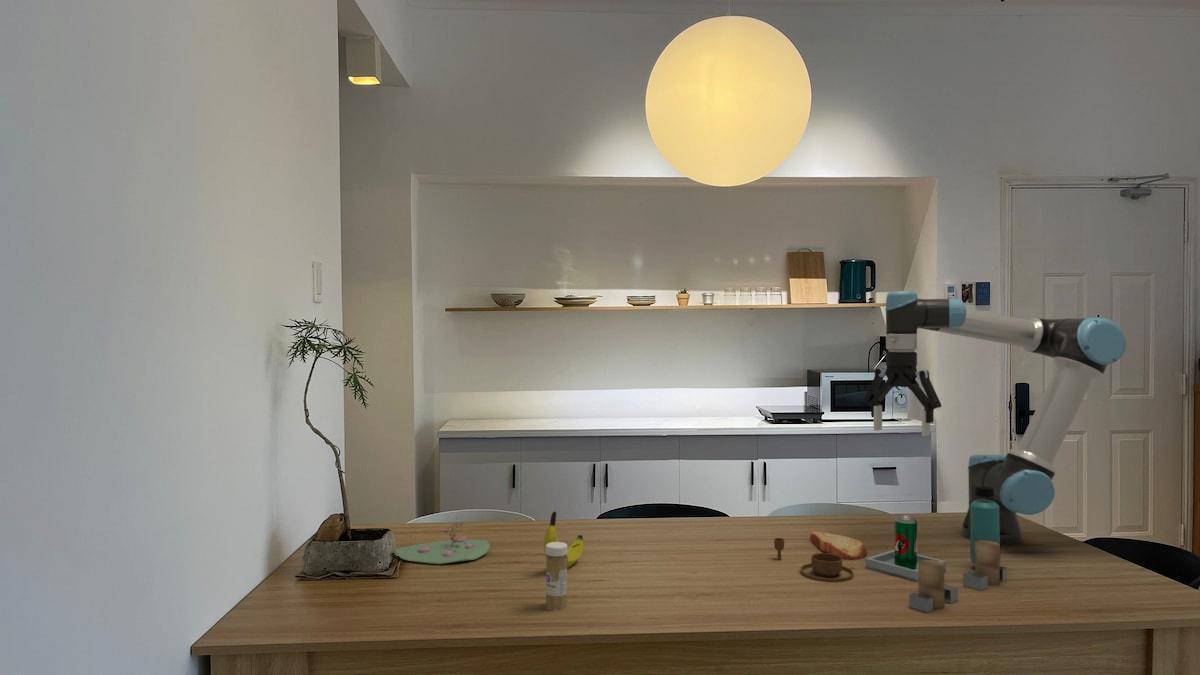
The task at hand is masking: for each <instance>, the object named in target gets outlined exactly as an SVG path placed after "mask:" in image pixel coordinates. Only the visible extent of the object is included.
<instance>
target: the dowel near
mask: <svg viewBox="0 0 1200 675" xmlns="http://www.w3.org/2000/svg"><path fill="white" fill-rule="evenodd" d="M917 583H918V584H917V585H918V586H917V587H918V590H917V593H918V594H921V595H925V596H928V597H932V598H933V610H943V609H944V608H945V602H944V584H945V572H944V563H942V562H939V561H935V560H920V561H918V582H917Z"/></svg>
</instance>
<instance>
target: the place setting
mask: <svg viewBox="0 0 1200 675" xmlns="http://www.w3.org/2000/svg"><path fill="white" fill-rule="evenodd" d="M773 542H774V544H773V545H774V549H775V551H777V555H776V557H777V560H779V561H781V559H782V551H783V550H784V549H785V539H784V538H783V537H782V538H781V537H775V538H774V539H773ZM810 558H811V560H810V563H806V564H804V565H802V566H801V567H800V573H801V575H803V576H804V577H806V578H807V579H810V580H813V581H819V582H825V583H842V582H846V581H847V582H848V581H850V580H852V579H853V577H854V571H853V570H856V571H858V569H857V568H855V567H852V566H851V567H848V566H845V565H843V559H842V558H841V557H840V556H838V555H834V554H829V553H825V552H821V553H814V554H812V555H811V556H810ZM808 569H812V570H813V572H815V573H816V574H817V575H819V576H817V575H811V574H809V573H806V572H805V570H808ZM843 571H844V572H846V573H848V574H849V575H848V576H846V577H845V576H844V577H838V578H836V577H835V576H836V575H839V574H840V573H841V572H843ZM834 577H835V578H834Z"/></svg>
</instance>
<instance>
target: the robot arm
mask: <svg viewBox="0 0 1200 675" xmlns="http://www.w3.org/2000/svg"><path fill="white" fill-rule="evenodd" d="M918 329H921V330H927V331H932V332H933V331H934V332H940V333H945V334H950V335H955V336H961V337H965V338H972V339H977V340H978V339H979V340H982V341H983V340H984V341H988V342H992V343H993V342H994V343H999V344H1000V343H1001V344H1005V345H1011V346H1016V347H1022V348H1023V350H1024V351H1026V352H1027V353H1028V352H1029V353H1033V354H1038V355H1043V356H1046V357H1049V358H1053V361H1054V364H1055V366H1056V367H1055V369H1054V371H1053V373H1052V374H1051V377H1050V380H1049V381H1048V383H1047V386H1046V388H1045V390H1044V392H1043V394H1042V396H1041V398H1040V401H1039V403H1038V405H1037V406H1036V409H1035V411H1034V413H1033V415H1032V417H1031V419H1030V422H1029V423H1028V425H1027V427H1026V429H1025V432H1024V434H1023V436H1022V437H1021V439H1020V441H1019V444H1018V446H1017V448H1016V449H1014V450H1010V451H1008V452H1007V453H1006V454H973V455H970V457H969V458H968V467H967V471H968V508H967V512H966V513H965V514H966V515H965V517H964V520H963V523H962V525H961V536H962V537H964V538H965V539H968V540H971V536H970V535H971V506H970V504H971V503H972V502H973V501H975V500H977V499H986V500H992V501H994V502H996V503H997V504H998V505H999V526H1000V540H1001V542H1000V544H1001V546H1003V545H1009V546H1010V545H1018V544H1021V543H1022V542H1023V541H1024V533H1023V532H1024V531H1023V529H1022V527H1021V524H1020V521H1019V518H1018V515H1017V514H1021V515H1027V516H1032V515H1036V514H1040V513H1042V512H1044V511H1045V510H1046V509H1047V508H1048V507H1050V506H1051V504H1052V503H1053V501H1054V498H1055V495H1056V492H1055V491H1056V488H1055V486H1054V482H1053V480H1054V477H1055V475H1056V470H1055V467H1054V466H1053V463H1054V460H1055V459H1056V457H1057V454H1058V452H1059V450H1060V449H1061V447H1062V444H1063V442H1064V439H1065V438H1066V436H1067V434H1068V431H1069V430H1070V428H1071V425H1072V423H1073V421H1074V419H1075V417H1076V415H1077V413H1078V410H1079V409H1080V407H1081V405H1082V402H1083V400H1084V398H1085V397H1086V394H1087V392H1088V390H1089V388H1090V386H1091V384H1092V382H1093V381H1094V380H1095V379H1098V378H1102V377H1103V375H1104V373H1105V371H1106V368H1107V366H1108V365H1111V364H1113V363H1116V362H1118V361H1119V360H1121V358H1122V357H1123V355H1124V353H1125V351H1126V347H1127V339H1126V336H1125V335H1124V334H1125V333H1124V331H1123V329H1122V328H1121V327H1120V326H1119V324H1118V323H1116V322H1114V321H1112V320H1111V319H1107V318H1103V317H1101V318H1100V317H1092V316H1091V317H1088V318H1087V317H1086V318H1085V317H1084V318H1073V317H1072V318H1071V317H1070V318H1059V319H1058V318H1057V319H1056V318H1054V319H1053V318H1050V319H1049V318H1047V319H1046V318H1040V317H1031V318H1030V319H1023V318H1019V317H1013V316H1008V315H1002V314H996V313H990V312H985V311H979V310H974V309H969V308H968V309H967V308H966V304H965V303H964V301H963V300H961V299H959V298H956V299H955V298H931V299H930V298H926V299H925V298H919V297H918V293H917V292H916V291H914V290H913V291H911V290H909V291H907V290H906V291H905V290H904V291H903V290H898V291H890V292H888V293H887V295H886V300H885V330H886V331H885V348H886V350H888V351H886V353H885V365H886V369H884V368H876V369H875V370H874V378H873V379H872V382H871V384H870V386H869V388H868V391H867V393H866V395H865V397H864V399H863V400H864V403H867V404H869V405H870V411H871V412H870V416H871V418H873V431H876V432H878V431H882V430H883V405H881V402H882V401H883V400H884V399H885V397H886V396H887V395H888V394H889V392H890V391H891V390H892V389H893V388H894V387H896V388H897V387H901V388H908V389H909V390H911V392H912V394H914V395H913V396H915V397H916V399H917V400H918V401H919V403H920V404H921V405H922V407H923V408H924V409H922V410H921V436H922V437H928V436H931V424H933V423H934V410H935V409H938V408H939V409H940V408H941V407H942V402H941V401H940V399H939V397H938V396H939V395H938V393H937V392H936V389H935V387H934V385H933V383H932V381H931V379H930V372H929V370H927V369H924V370H920V371H918V370H917V365H918V353H917V351H915V350H918ZM885 377H886V378H887V379H886V380H885V382H884V383H883V380H884V378H885ZM917 378H918V379H919V380H920V381H919V382H920V384H921V386H922V388H923V389H922V388H921V387H920V384H919V382H918V381H917V380H916V379H917ZM882 383H883V385H882V387H881V384H882ZM880 387H881V388H880ZM923 390H924V391H923ZM976 486H989V487H992V488H993V489H994V497H981V496H976V495H975V489H976Z"/></svg>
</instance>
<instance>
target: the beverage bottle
mask: <svg viewBox="0 0 1200 675" xmlns="http://www.w3.org/2000/svg"><path fill="white" fill-rule="evenodd" d="M975 495H976V496H981V497H994V489H993V488H992V487H989V486H976V489H975ZM970 506H971V535H970V536H971V540H970V539H969V540H970V543H969V546H970V553H969V555H970V557H969V558H970V561H971V564H972V565H974V566H975V541H979V540H985V541H992V542H996V543H998V544H1000V542H1001V540H1000V526H999V505H998V504H997V503H996V502H994V501H992V500H986V499H977V500H975V501H973V502H972V503H971V504H970ZM1000 545H1001V544H1000ZM1001 546H1002V545H1001ZM1001 546H1000V561H1001V559H1002V558H1001V556H1002V554H1001V552H1002V551H1001V550H1002V549H1001V548H1002V547H1001Z"/></svg>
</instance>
